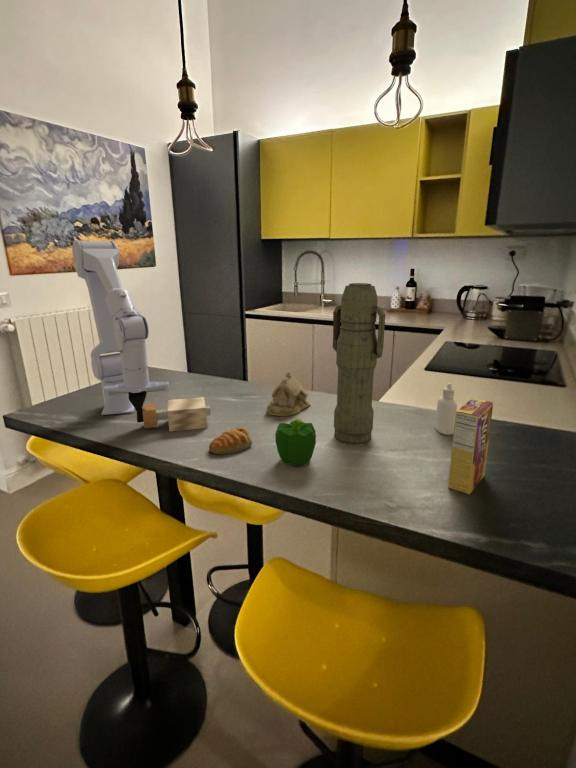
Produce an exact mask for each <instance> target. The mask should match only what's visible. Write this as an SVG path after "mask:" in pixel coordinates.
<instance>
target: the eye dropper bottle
mask: <svg viewBox="0 0 576 768" xmlns="http://www.w3.org/2000/svg"><path fill="white" fill-rule="evenodd" d="M454 396H455V389H454V388H453V387H452V383H451V382H448V383H447V385H446V386H445V387H443V390H442V396H440V397H439V398H437V405H436V413H435V423H434V428H435V430H436V431H437V432H438V433H440V434H443V435H446V436H448V435H450V436H451V435H453V434H454V425H455V414H456V411H457V410H458V404H457V401H456V400H455V399H454Z"/></svg>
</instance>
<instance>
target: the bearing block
mask: <svg viewBox="0 0 576 768" xmlns="http://www.w3.org/2000/svg"><path fill="white" fill-rule="evenodd" d="M206 406H207V404H206V402H205V397H204V396H202V397H190V398H178V399H177V398H175V399H168V400H167V409H168V419H167V420H168V421H167V422H168V430H169V432H176V431H177V432H179V431H180V432H181V431H189V430H198V429H199V430H200V429H207V428H208V419H207V416H206Z"/></svg>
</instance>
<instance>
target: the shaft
mask: <svg viewBox="0 0 576 768" xmlns="http://www.w3.org/2000/svg"><path fill="white" fill-rule="evenodd" d="M157 408H158V407H157V403H145V404H143V407H142V409H143V420H144V421H143V426H144V427H143V429H151V428H152V429H153V428H158V424H159V421H164V420H165V421H166V420H168V408H163V409H157ZM211 413H212V412H211V405H210V404H208V405H207V404H206V416H208V417H209V416H212V415H211Z"/></svg>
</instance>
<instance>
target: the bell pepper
mask: <svg viewBox="0 0 576 768" xmlns="http://www.w3.org/2000/svg"><path fill="white" fill-rule="evenodd" d="M314 427H315V426H314V424H313V423H312V422H304V421H303V420H302V419H300V418H299V417H298V418H295V419H294V420H292V421H290V422H289V423H286V422H281V423H280V422H279V423H278V425H277V428H276V430H275V445H276V449H277V453H278V456H279V458H280V460H281V461H282V463H283V464H290V465H291V466H294V467H303V466H306V465H308V464H309V462H310V461H311V459H312V457H313V455H314V451H315V447H316V442H317V441H316V439H317V434H316V432H317V431H316V429H315V428H314Z"/></svg>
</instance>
